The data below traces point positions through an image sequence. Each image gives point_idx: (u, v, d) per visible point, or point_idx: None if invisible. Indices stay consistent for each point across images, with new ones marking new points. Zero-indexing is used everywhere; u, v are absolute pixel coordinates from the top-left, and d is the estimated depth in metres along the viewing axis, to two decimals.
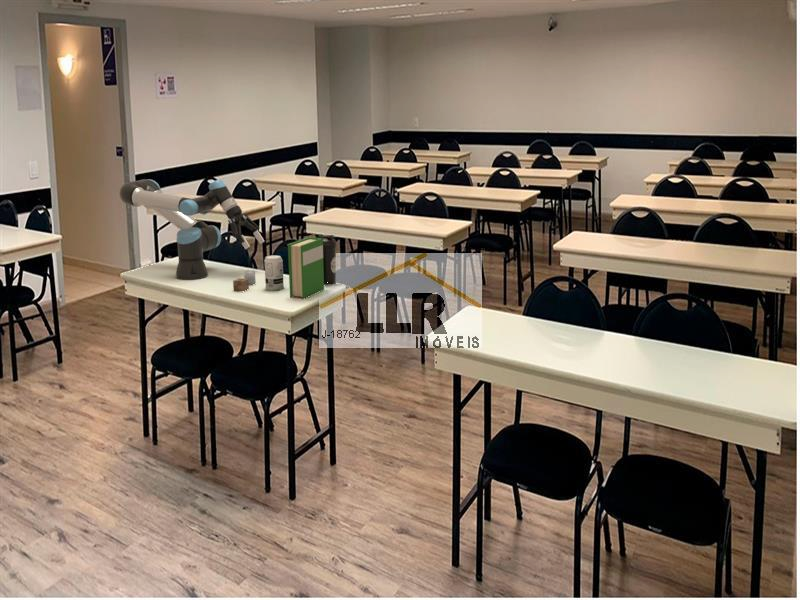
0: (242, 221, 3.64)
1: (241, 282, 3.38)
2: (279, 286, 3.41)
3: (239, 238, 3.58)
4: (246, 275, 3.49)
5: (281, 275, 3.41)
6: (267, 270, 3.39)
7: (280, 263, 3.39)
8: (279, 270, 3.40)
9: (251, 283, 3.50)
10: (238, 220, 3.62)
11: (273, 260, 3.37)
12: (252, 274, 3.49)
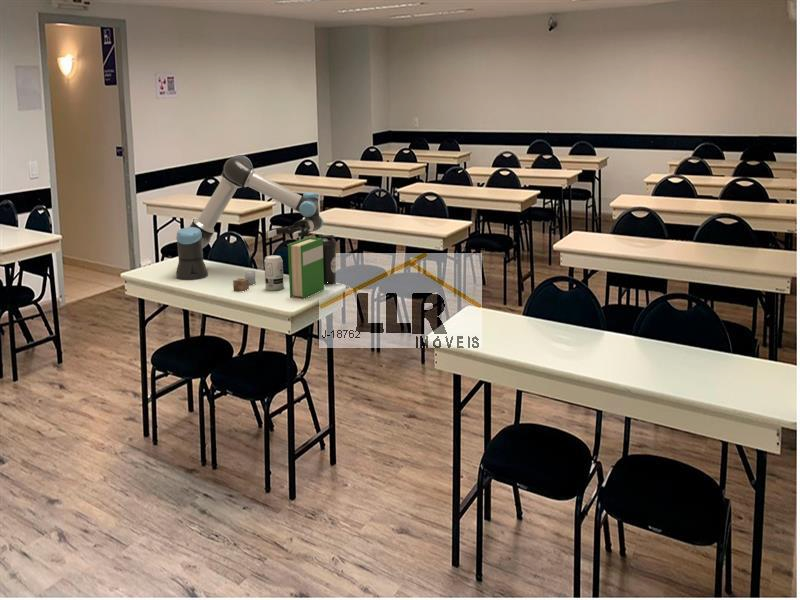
0: None
1: (241, 282, 3.38)
2: (279, 286, 3.41)
3: (302, 233, 3.49)
4: (246, 275, 3.49)
5: (281, 275, 3.41)
6: (267, 270, 3.39)
7: (280, 263, 3.39)
8: (279, 270, 3.40)
9: (251, 283, 3.50)
10: None
11: (273, 260, 3.37)
12: (252, 274, 3.49)
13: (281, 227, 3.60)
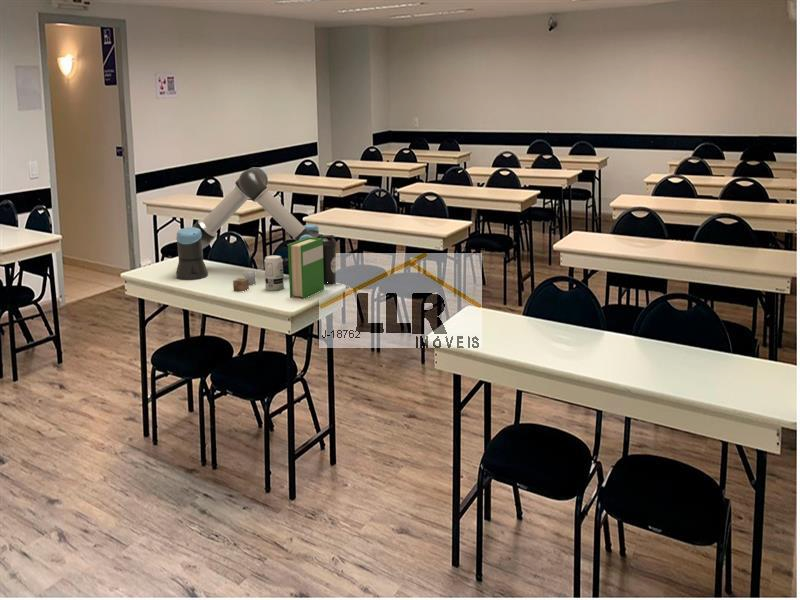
0: None
1: (241, 282, 3.38)
2: (279, 286, 3.41)
3: None
4: (246, 275, 3.49)
5: (281, 275, 3.41)
6: (267, 270, 3.39)
7: (280, 263, 3.39)
8: (279, 270, 3.40)
9: (251, 283, 3.50)
10: None
11: (273, 260, 3.37)
12: (252, 274, 3.49)
13: None
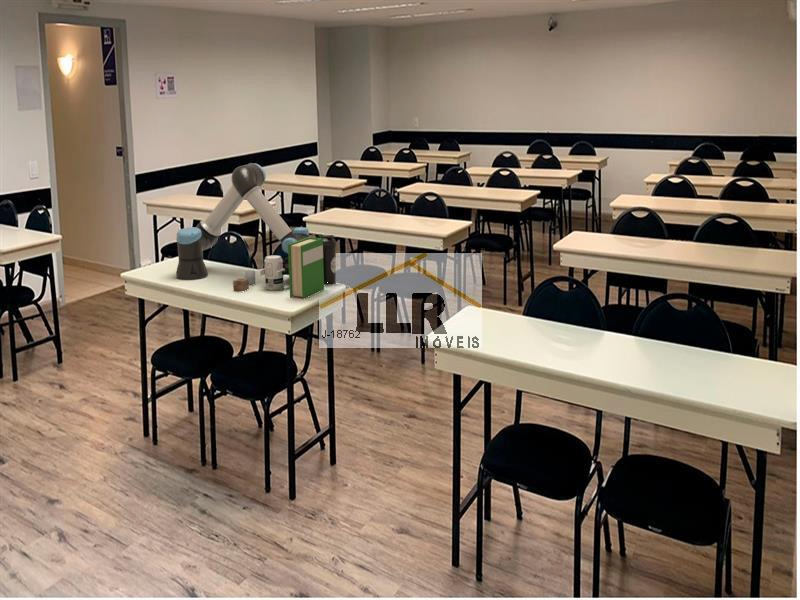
0: None
1: (241, 282, 3.38)
2: (279, 286, 3.41)
3: (286, 271, 3.41)
4: (246, 275, 3.49)
5: None
6: (267, 270, 3.39)
7: (280, 263, 3.39)
8: (279, 270, 3.40)
9: (251, 283, 3.50)
10: None
11: (273, 260, 3.37)
12: (252, 274, 3.49)
13: None
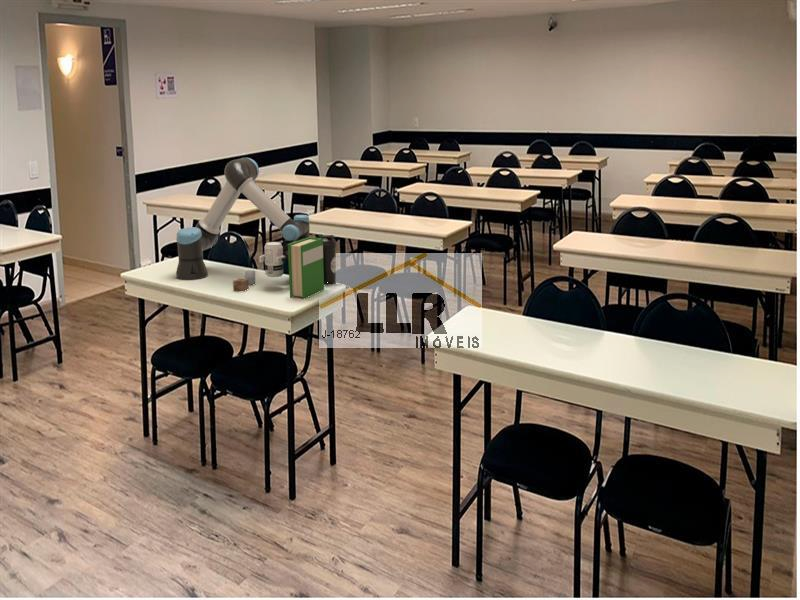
0: None
1: (241, 282, 3.38)
2: (279, 273, 3.40)
3: (286, 258, 3.40)
4: (247, 275, 3.49)
5: None
6: (267, 256, 3.37)
7: (280, 250, 3.38)
8: None
9: (251, 283, 3.50)
10: None
11: (273, 246, 3.35)
12: (253, 274, 3.49)
13: None
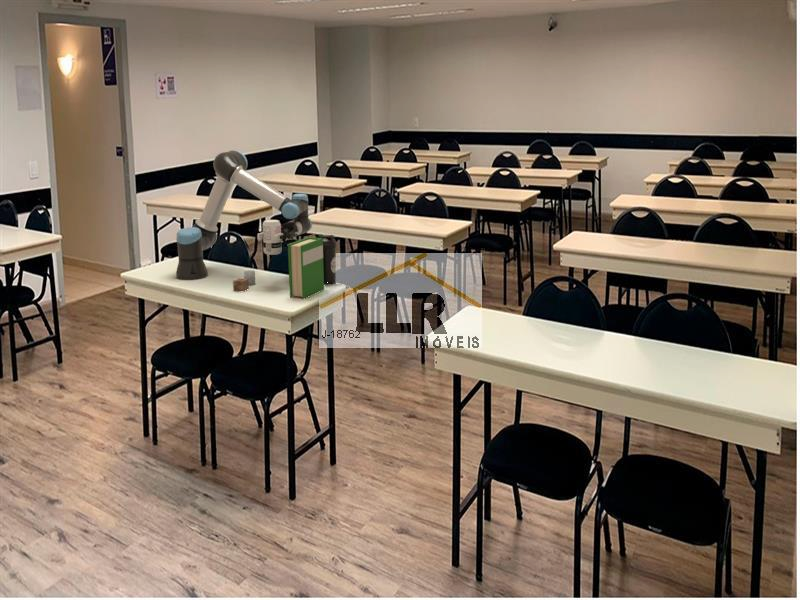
0: None
1: (241, 282, 3.38)
2: (277, 250, 3.39)
3: (284, 236, 3.39)
4: (246, 275, 3.49)
5: None
6: (265, 234, 3.36)
7: (278, 227, 3.37)
8: (277, 234, 3.37)
9: (252, 283, 3.50)
10: None
11: (271, 224, 3.35)
12: (252, 274, 3.50)
13: None
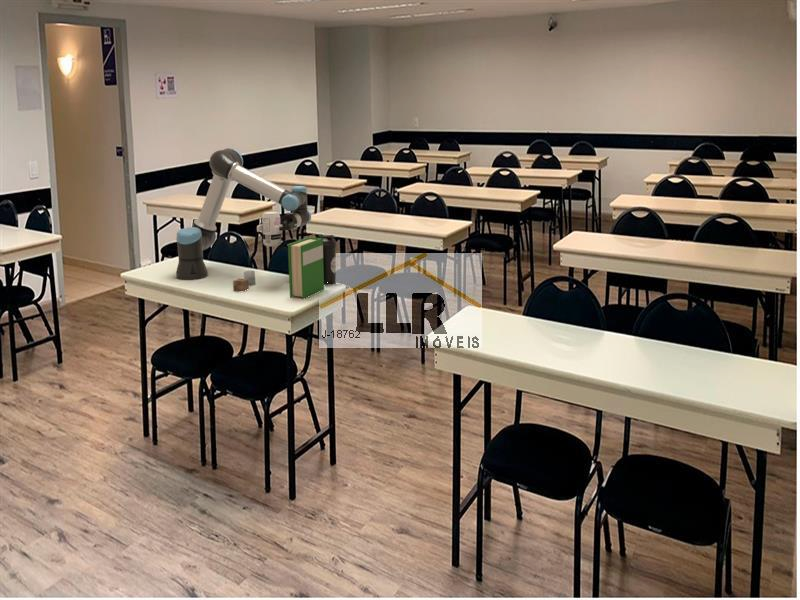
0: None
1: (241, 282, 3.38)
2: (277, 242, 3.39)
3: (283, 227, 3.39)
4: (246, 275, 3.49)
5: None
6: (264, 226, 3.37)
7: (278, 219, 3.37)
8: None
9: (252, 283, 3.50)
10: None
11: (270, 215, 3.35)
12: (252, 274, 3.50)
13: None
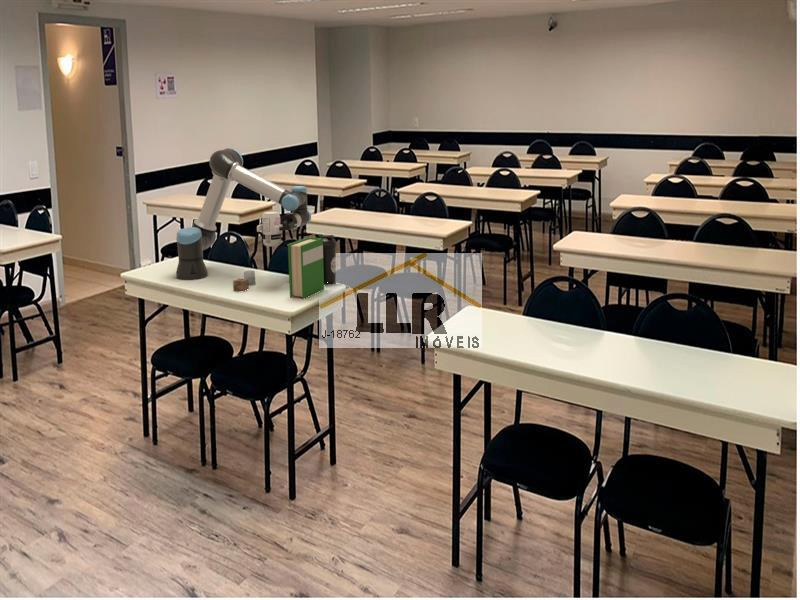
0: None
1: (241, 282, 3.38)
2: (277, 242, 3.39)
3: (283, 227, 3.39)
4: (247, 275, 3.49)
5: None
6: (264, 226, 3.37)
7: (278, 219, 3.37)
8: None
9: (252, 283, 3.50)
10: None
11: (270, 215, 3.35)
12: (252, 274, 3.50)
13: None
